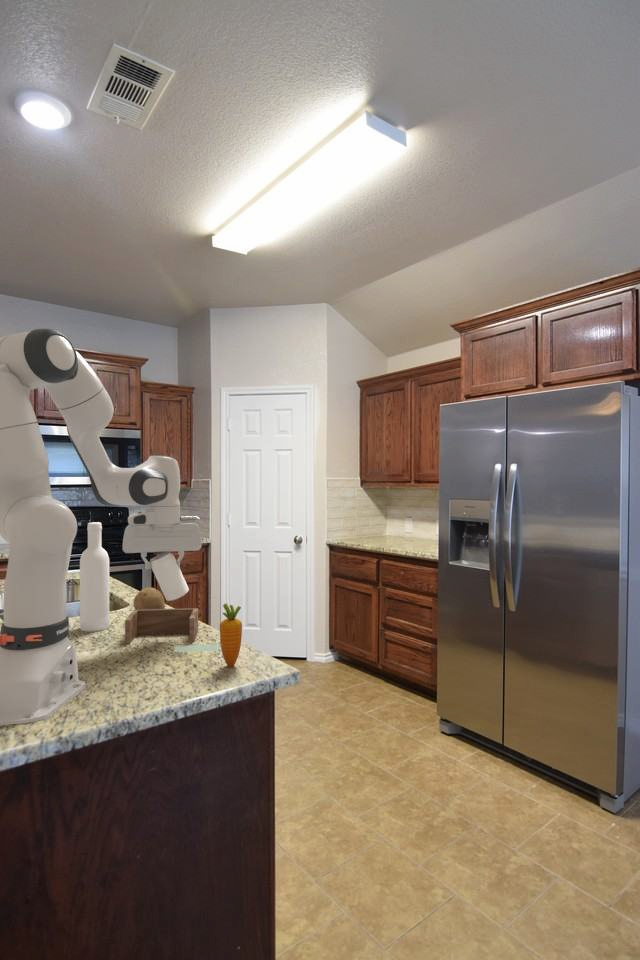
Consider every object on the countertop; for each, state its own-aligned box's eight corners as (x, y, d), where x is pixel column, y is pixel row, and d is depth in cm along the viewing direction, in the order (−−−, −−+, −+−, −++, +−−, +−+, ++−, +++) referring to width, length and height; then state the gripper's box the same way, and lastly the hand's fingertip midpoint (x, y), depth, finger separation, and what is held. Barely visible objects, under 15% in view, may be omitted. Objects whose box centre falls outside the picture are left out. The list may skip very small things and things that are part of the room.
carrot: (246, 668, 122) (246, 602, 122) (231, 674, 118) (231, 607, 117) (230, 663, 125) (230, 599, 124) (215, 670, 121) (215, 604, 120)
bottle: (111, 623, 157) (111, 521, 156) (107, 630, 149) (107, 523, 149) (82, 624, 155) (82, 521, 154) (76, 632, 147) (76, 524, 147)
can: (179, 599, 139) (160, 558, 138) (162, 603, 142) (143, 563, 141) (194, 588, 145) (176, 548, 143) (177, 592, 148) (159, 553, 146)
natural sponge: (133, 617, 163) (133, 585, 162) (164, 615, 165) (164, 583, 165) (133, 626, 154) (133, 591, 154) (165, 623, 157) (165, 589, 157)
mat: (216, 661, 126) (216, 659, 126) (169, 662, 125) (169, 661, 125) (219, 645, 137) (219, 644, 137) (176, 647, 136) (176, 645, 136)
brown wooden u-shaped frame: (194, 642, 139) (194, 618, 139) (125, 645, 137) (125, 620, 137) (198, 631, 149) (198, 608, 149) (134, 633, 147) (134, 609, 147)
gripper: (201, 514, 148) (200, 564, 149) (122, 516, 142) (122, 568, 142) (204, 516, 142) (203, 568, 143) (122, 518, 136) (122, 572, 136)
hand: (162, 568), depth 142 cm, fingers closed on can, 6 cm apart
